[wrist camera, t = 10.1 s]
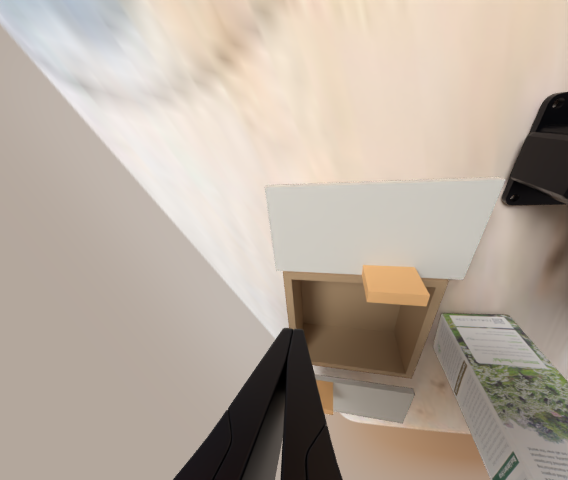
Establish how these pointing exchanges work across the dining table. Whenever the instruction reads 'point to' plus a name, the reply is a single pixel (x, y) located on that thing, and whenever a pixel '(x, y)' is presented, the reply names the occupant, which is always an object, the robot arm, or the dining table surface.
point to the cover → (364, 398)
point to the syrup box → (506, 396)
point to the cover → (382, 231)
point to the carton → (358, 323)
